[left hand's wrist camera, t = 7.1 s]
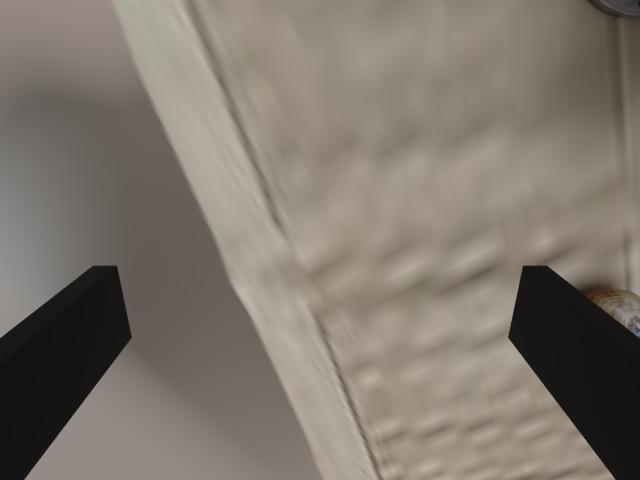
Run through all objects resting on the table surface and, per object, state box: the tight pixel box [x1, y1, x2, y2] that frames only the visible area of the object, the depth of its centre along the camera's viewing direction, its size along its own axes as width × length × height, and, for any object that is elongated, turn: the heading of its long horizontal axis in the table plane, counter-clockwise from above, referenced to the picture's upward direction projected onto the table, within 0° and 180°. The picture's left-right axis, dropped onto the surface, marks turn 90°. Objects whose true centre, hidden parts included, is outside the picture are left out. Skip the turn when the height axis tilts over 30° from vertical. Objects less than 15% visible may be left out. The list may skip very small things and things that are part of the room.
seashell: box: [584, 289, 640, 338], centre depth 47 cm, size 10×6×8 cm, turn 115°
